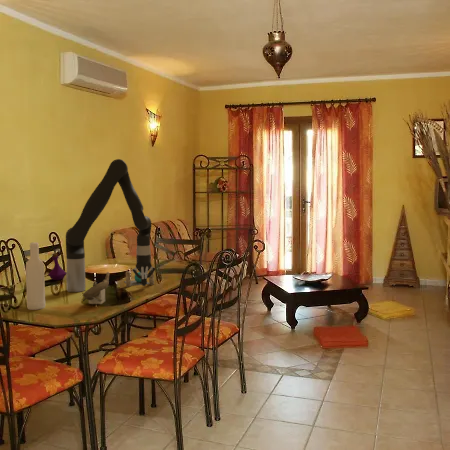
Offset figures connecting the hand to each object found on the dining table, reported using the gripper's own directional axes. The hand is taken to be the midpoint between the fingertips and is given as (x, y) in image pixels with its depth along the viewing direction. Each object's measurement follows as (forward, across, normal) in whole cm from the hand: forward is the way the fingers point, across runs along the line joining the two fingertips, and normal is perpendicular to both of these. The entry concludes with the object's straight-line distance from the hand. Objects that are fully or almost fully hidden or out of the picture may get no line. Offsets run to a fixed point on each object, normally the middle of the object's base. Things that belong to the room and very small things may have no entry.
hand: (143, 285), depth 280 cm
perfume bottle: (+2, +40, -43) cm, 59 cm away
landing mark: (+2, 0, -16) cm, 16 cm away
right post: (+2, -6, -8) cm, 10 cm away
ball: (-2, -2, -16) cm, 16 cm away
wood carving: (+2, +28, +20) cm, 34 cm away
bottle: (+2, +56, +21) cm, 60 cm away
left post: (+2, +6, -8) cm, 10 cm away
